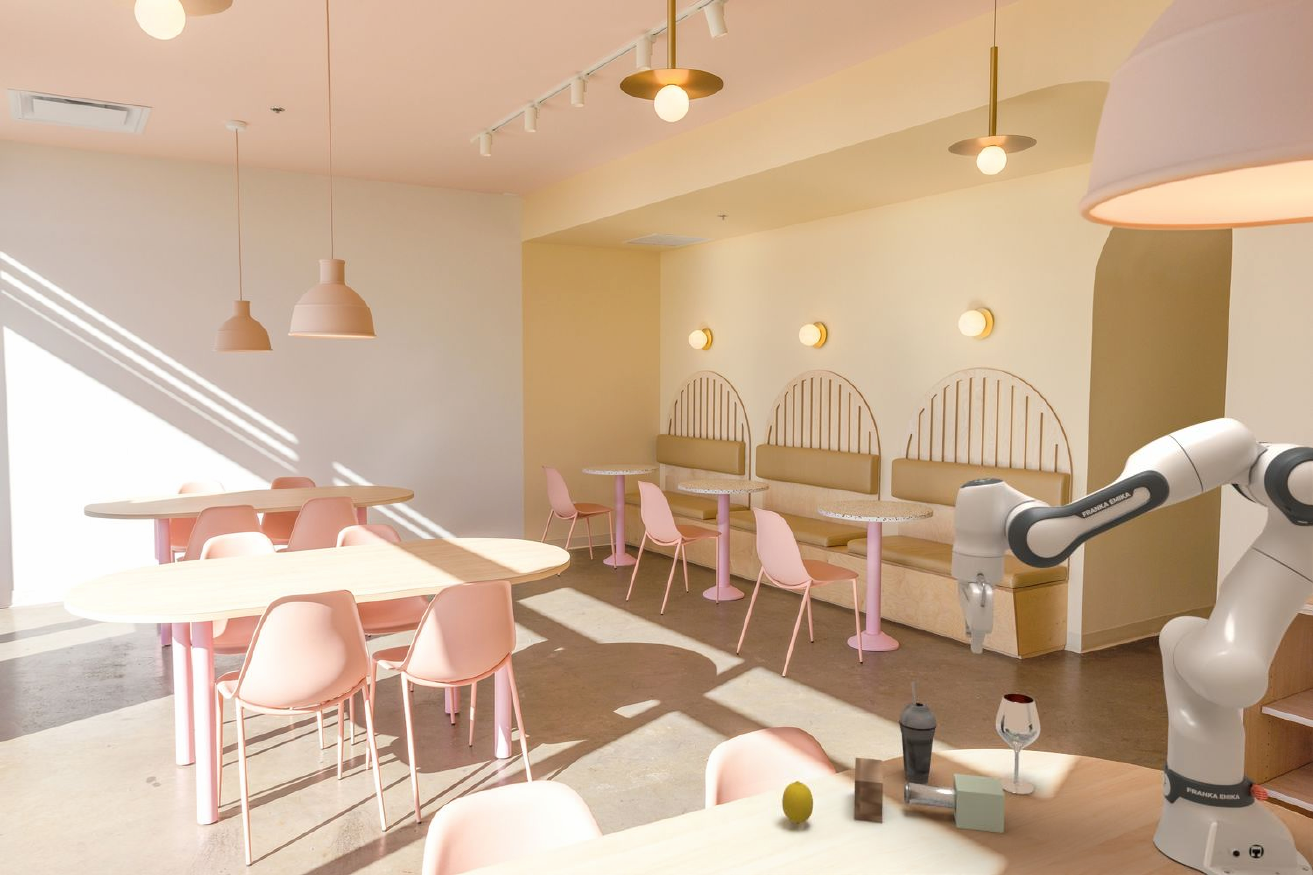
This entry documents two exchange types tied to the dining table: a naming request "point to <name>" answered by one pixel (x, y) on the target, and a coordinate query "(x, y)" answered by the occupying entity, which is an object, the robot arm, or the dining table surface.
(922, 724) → the beverage cup
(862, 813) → the socket
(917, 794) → the tube
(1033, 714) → the wineglass
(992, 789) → the sage green block
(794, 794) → the lemon
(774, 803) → the dining table surface
